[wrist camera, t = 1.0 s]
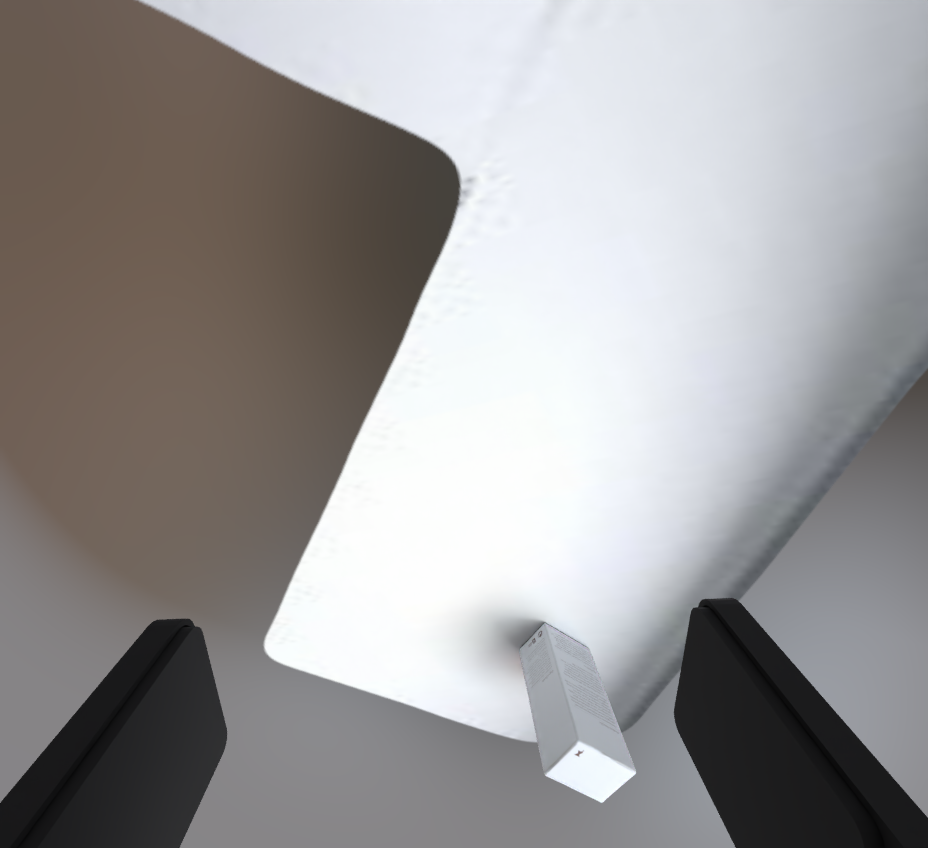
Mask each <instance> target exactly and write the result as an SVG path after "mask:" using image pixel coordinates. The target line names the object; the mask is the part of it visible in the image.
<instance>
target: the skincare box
mask: <svg viewBox="0 0 928 848" xmlns="http://www.w3.org/2000/svg"><path fill="white" fill-rule="evenodd" d="M519 653H520V657H521V662H522V667H523V672H524V677H525V682H526V687H527V692H528V697H529V702H530V707H531V712H532V717H533V722H534V727H535V732H536V737H537V741H538V746H539V751H540V756H541V761H542V766H543V771H544V774H545V776H547V777H549V778H552V779H554V780H556V781H558V782H560V783H562V784H564V785H566V786H568V787H570V788H573V789H574V790H576V791H578V792H581V793H583V794H585V795H587V796H589V797H591V798H593V799H595V800H597V801H599V802H601V803H602V802H603V801H605V800H606V799H607V798H608V797H609V796H610V795H611V794H613V793H614V792H615V791H616V790H617V789H618V788H619V787H621V786H622V785H623V784H624V783H625V782H626V781H627V780H629V779H630V778H631V777H632V776H633V775H635V774H636V770H635V767H634V764H633V762H632V759H631V757H630V754H629V752H628V749H627V746H626V744H625V741H624V738H623V736H622V733H621V731H620V728H619V725H618V723H617V720H616V717H615V715H614V712H613V710H612V707H611V704H610V702H609V699H608V697H607V694H606V691H605V689H604V686H603V683H602V681H601V678H600V676H599V673H598V670H597V668H596V665H595V662H594V660H593V657H592V654H591V652H590V650H589V648H587V647H585V646H583V645H582V644H580V643H578V642H576V641H575V640H573V639H571V638H570V637H568V636H566V635H565V634H563V633H561V632H559V631H558V630H556V629H554V628H553V627H551V626H549V625H548V624H546V623H544V624H543V625H542V626H541V627H540V628H539V629H538V630H537V631H536V633H535V634H534V635H533V636H532V637H531V638H530V639H529V640H528V641H527V642H526V643H525V644H524V645H523V646H522V647H521V648H520V650H519Z"/></svg>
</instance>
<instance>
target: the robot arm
mask: <svg viewBox="0 0 928 848" xmlns="http://www.w3.org/2000/svg"><path fill="white" fill-rule="evenodd" d="M674 717H675V723H676V726H677V729H678V732H679V734H680V736H681V738H682V740H683V742H684V744H685V746H686V748H687V750H688V752H689V754H690V756H691V758H692V760H693V762H694V764H695V766H696V768H697V770H698V772H699V774H700V776H701V778H702V780H703V782H704V784H705V786H706V789H707V791H708V793H709V795H710V797H711V799H712V801H713V802H714V805H715V806H716V808H717V811H718V813H719V815H720V817H721V819H722V821H723V823H724V825H725V827H726V829H727V831H728V833H729V835H730V837H731V839H732V841H733V843H734V845H735V847H736V848H928V818H927V816H926V815H925V814H924V813H923V812H922V811H921V810H920V808H919V807H918V806H917V805H916V804H915V803H914V802H913V800H912V799H911V798H910V797H909V796H908V795H907V793H906V792H905V791H904V790H903V789H902V788H901V787H900V785H899V784H898V783H897V782H896V781H895V780H894V779H893V777H892V776H891V775H890V774H889V773H888V772H887V771H886V769H885V768H884V767H883V766H882V765H881V764H880V763H879V761H878V760H877V759H876V758H875V757H874V756H873V754H872V753H871V752H870V751H869V750H868V749H867V748H866V746H865V745H864V744H863V743H862V742H861V741H860V740H859V738H858V737H857V736H856V735H855V734H854V733H853V732H852V730H851V729H850V728H849V727H848V726H847V725H846V723H845V722H844V721H843V720H842V719H841V718H840V717H839V715H837V713H836V712H835V711H834V710H833V709H832V707H831V706H830V705H829V704H828V703H827V702H826V701H825V699H824V698H823V697H822V696H821V695H820V694H819V693H818V691H817V690H816V689H815V688H814V687H813V686H812V684H811V683H810V682H809V681H808V680H807V679H806V678H805V676H804V675H803V674H802V673H801V672H800V671H799V670H798V668H797V667H796V666H795V665H794V664H793V663H792V662H791V661H790V659H789V658H788V657H787V656H786V655H785V653H784V652H783V651H782V650H781V649H780V648H779V647H778V646H777V644H776V643H775V642H774V641H773V640H772V639H771V638H770V636H769V635H768V634H767V633H766V632H765V631H764V629H763V628H762V627H761V626H760V625H759V624H758V623H757V621H756V620H755V619H754V618H753V617H752V616H751V615H750V613H749V612H748V611H747V610H746V609H745V608H744V606H743V605H742V604H741V603H740V602H739V601H738V600H736V599H733V598H722V599H704V600H702V601H701V602H700V603H699V606H698V607H697V608H693V609H692V611H691V615H690V621H689V627H688V632H687V638H686V644H685V650H684V656H683V661H682V667H681V673H680V679H679V685H678V691H677V696H676V702H675V708H674ZM226 741H227V728H226V724H225V720H224V716H223V712H222V708H221V704H220V700H219V696H218V692H217V688H216V684H215V680H214V676H213V672H212V668H211V664H210V660H209V656H208V652H207V648H206V644H205V640H204V636H203V632H202V630H201V628H200V627H195V626H194V624H193V622H192V621H191V620H190V619H167V620H156V621H153V622H152V623H151V624H150V625H149V626H148V627H147V628H146V629H145V630H144V632H143V633H142V634H141V635H140V636H139V638H138V639H137V640H136V641H135V642H134V644H133V645H132V646H131V647H130V648H129V650H128V651H127V652H126V653H125V654H124V656H123V657H122V658H121V659H120V660H119V662H118V663H117V664H116V665H115V666H114V667H113V669H112V670H111V671H110V672H109V673H108V675H107V676H106V677H105V678H104V679H103V681H102V682H101V683H100V684H99V685H98V687H97V688H96V689H95V690H94V691H93V693H92V694H91V695H90V696H89V698H88V699H87V700H86V701H85V703H83V705H82V706H81V707H80V708H79V709H78V711H77V712H76V713H75V714H74V715H73V717H72V718H71V719H70V720H69V721H68V723H67V724H66V725H65V726H64V727H63V729H62V730H61V731H60V732H59V734H58V735H57V736H56V737H55V738H54V739H53V741H52V742H51V743H50V744H49V745H48V747H47V748H46V749H45V750H44V751H43V752H42V754H41V755H40V756H39V757H38V758H37V760H36V761H35V762H34V763H33V764H32V766H31V767H30V768H29V769H28V770H27V772H26V773H25V774H24V775H23V776H22V778H21V779H20V780H19V781H18V782H17V784H16V785H15V786H14V787H13V788H12V790H11V791H10V792H9V793H8V794H7V796H6V797H5V798H4V799H3V800H2V802H1V803H0V848H179V847H180V845H181V843H182V841H183V839H184V837H185V834H186V832H187V830H188V828H189V826H190V823H191V821H192V819H193V817H194V815H195V813H196V811H197V809H198V806H199V804H200V802H201V800H202V798H203V795H204V793H205V791H206V789H207V787H208V785H209V782H210V780H211V778H212V776H213V774H214V771H215V770H216V767H217V765H218V763H219V761H220V759H221V757H222V754H223V752H224V749H225V745H226Z"/></svg>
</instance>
